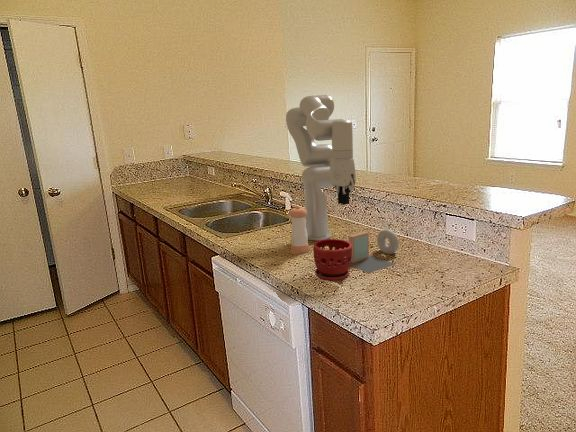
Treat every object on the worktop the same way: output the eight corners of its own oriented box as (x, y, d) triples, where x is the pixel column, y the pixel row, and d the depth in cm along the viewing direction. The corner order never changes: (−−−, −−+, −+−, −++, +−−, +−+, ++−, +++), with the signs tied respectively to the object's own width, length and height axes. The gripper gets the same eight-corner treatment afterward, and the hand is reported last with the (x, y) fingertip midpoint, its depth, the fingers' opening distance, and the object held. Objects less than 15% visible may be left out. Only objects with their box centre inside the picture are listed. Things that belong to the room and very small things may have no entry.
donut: (375, 252, 174) (374, 227, 171) (381, 250, 176) (381, 226, 173) (394, 258, 166) (394, 232, 163) (400, 256, 168) (400, 231, 165)
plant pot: (332, 287, 143) (330, 252, 140) (306, 276, 153) (305, 243, 150) (360, 277, 150) (360, 243, 147) (334, 266, 161) (333, 235, 158)
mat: (338, 263, 164) (338, 261, 164) (364, 255, 171) (364, 253, 171) (368, 275, 151) (368, 273, 151) (395, 266, 158) (395, 264, 158)
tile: (349, 261, 163) (348, 235, 160) (365, 256, 167) (364, 231, 164) (353, 263, 161) (352, 237, 159) (369, 258, 165) (368, 232, 163)
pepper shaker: (307, 255, 174) (305, 208, 170) (289, 255, 176) (287, 208, 171) (310, 249, 181) (308, 204, 176) (293, 249, 183) (290, 204, 178)
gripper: (321, 154, 165) (323, 202, 170) (348, 157, 153) (349, 208, 157) (336, 152, 169) (337, 199, 174) (364, 155, 157) (365, 205, 161)
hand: (343, 203), depth 166 cm, fingers closed
